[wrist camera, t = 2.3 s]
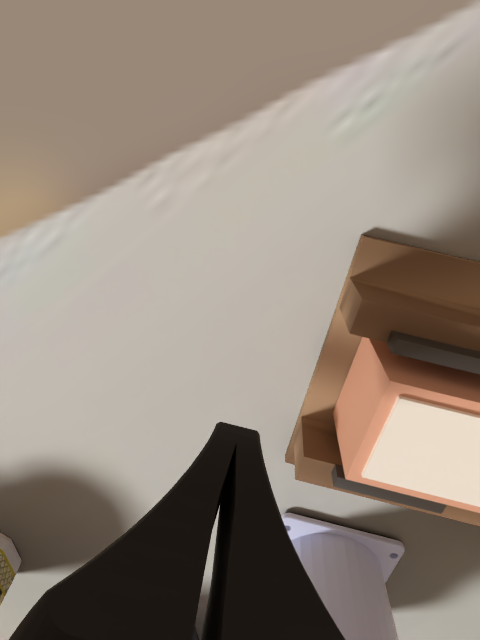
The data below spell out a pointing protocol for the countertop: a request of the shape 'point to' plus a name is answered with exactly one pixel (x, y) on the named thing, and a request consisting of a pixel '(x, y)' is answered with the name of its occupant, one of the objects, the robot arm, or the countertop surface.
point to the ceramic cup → (7, 564)
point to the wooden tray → (401, 338)
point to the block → (410, 427)
